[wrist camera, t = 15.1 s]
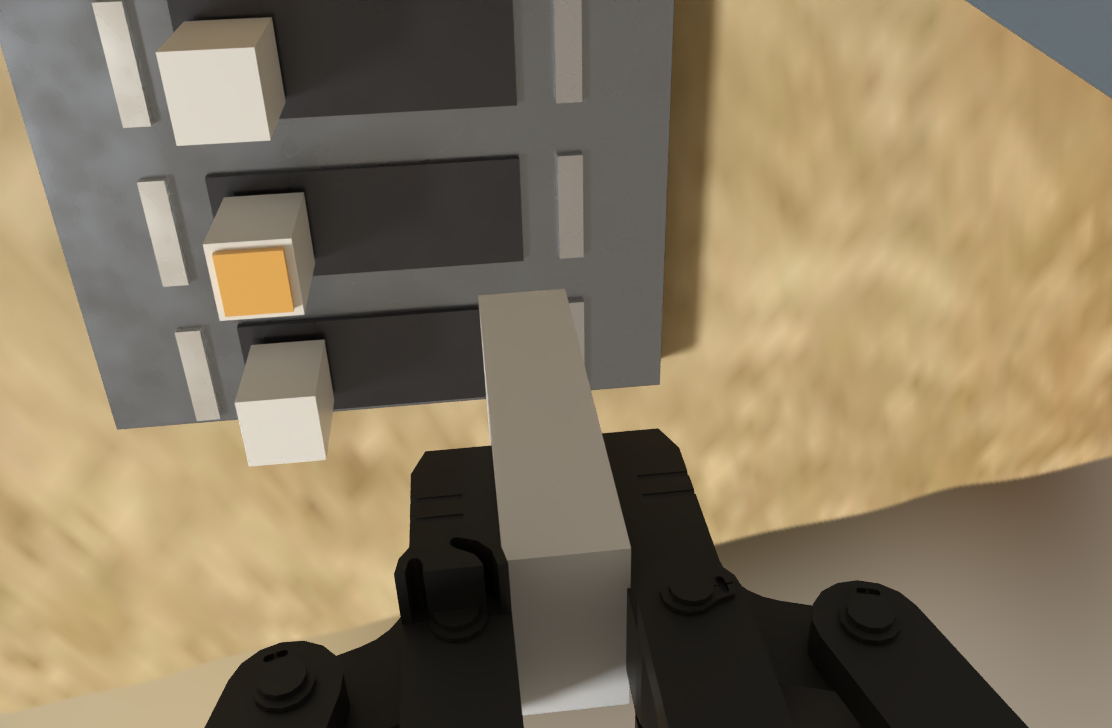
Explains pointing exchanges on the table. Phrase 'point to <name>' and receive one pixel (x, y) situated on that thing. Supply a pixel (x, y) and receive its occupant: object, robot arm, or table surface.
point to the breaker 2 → (285, 403)
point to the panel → (360, 187)
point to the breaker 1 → (222, 81)
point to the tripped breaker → (260, 256)
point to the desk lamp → (1062, 32)
